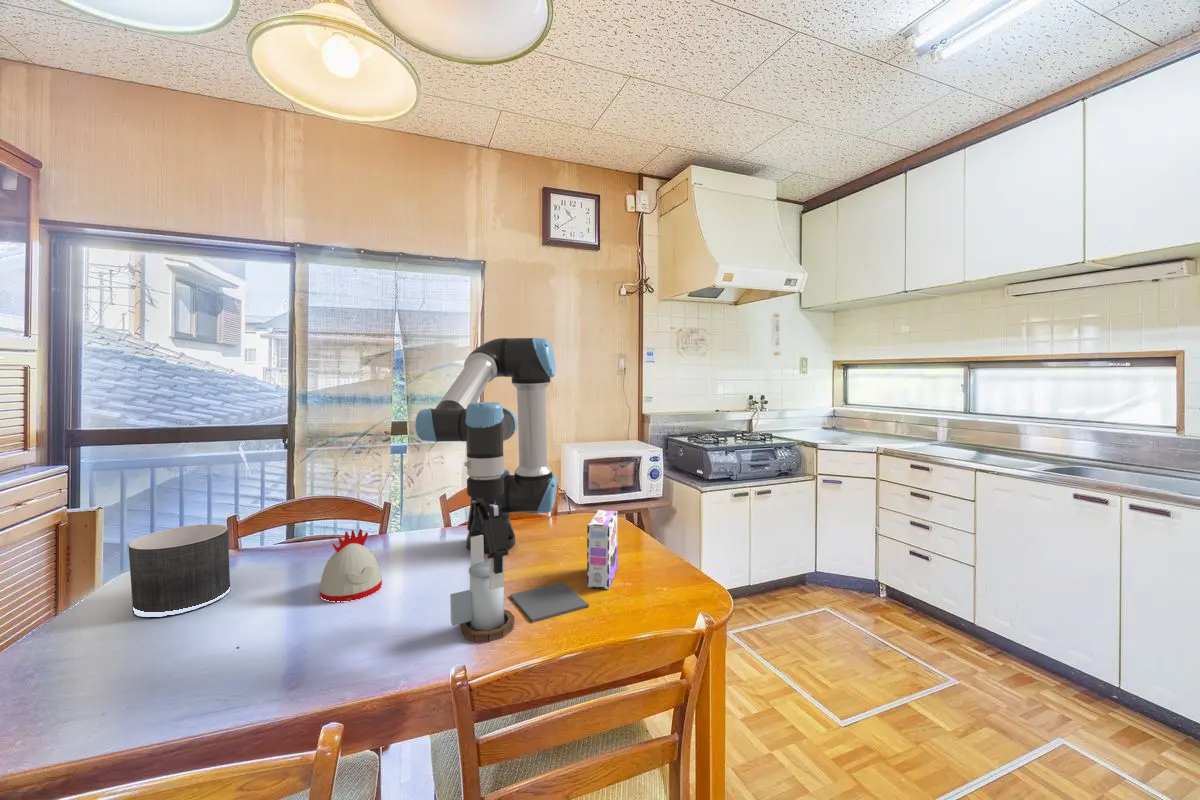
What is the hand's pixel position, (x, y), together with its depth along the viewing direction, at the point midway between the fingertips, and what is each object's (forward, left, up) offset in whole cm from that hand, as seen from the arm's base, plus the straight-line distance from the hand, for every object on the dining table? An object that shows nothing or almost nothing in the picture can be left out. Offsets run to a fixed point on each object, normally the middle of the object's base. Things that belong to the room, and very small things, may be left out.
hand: (486, 575), depth 102 cm
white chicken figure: (-35, -24, -12) cm, 44 cm away
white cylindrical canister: (0, -2, -11) cm, 12 cm away
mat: (-4, +16, -11) cm, 20 cm away
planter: (-49, -59, -12) cm, 78 cm away
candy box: (-9, +34, -12) cm, 37 cm away
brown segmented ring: (0, 0, -11) cm, 11 cm away
